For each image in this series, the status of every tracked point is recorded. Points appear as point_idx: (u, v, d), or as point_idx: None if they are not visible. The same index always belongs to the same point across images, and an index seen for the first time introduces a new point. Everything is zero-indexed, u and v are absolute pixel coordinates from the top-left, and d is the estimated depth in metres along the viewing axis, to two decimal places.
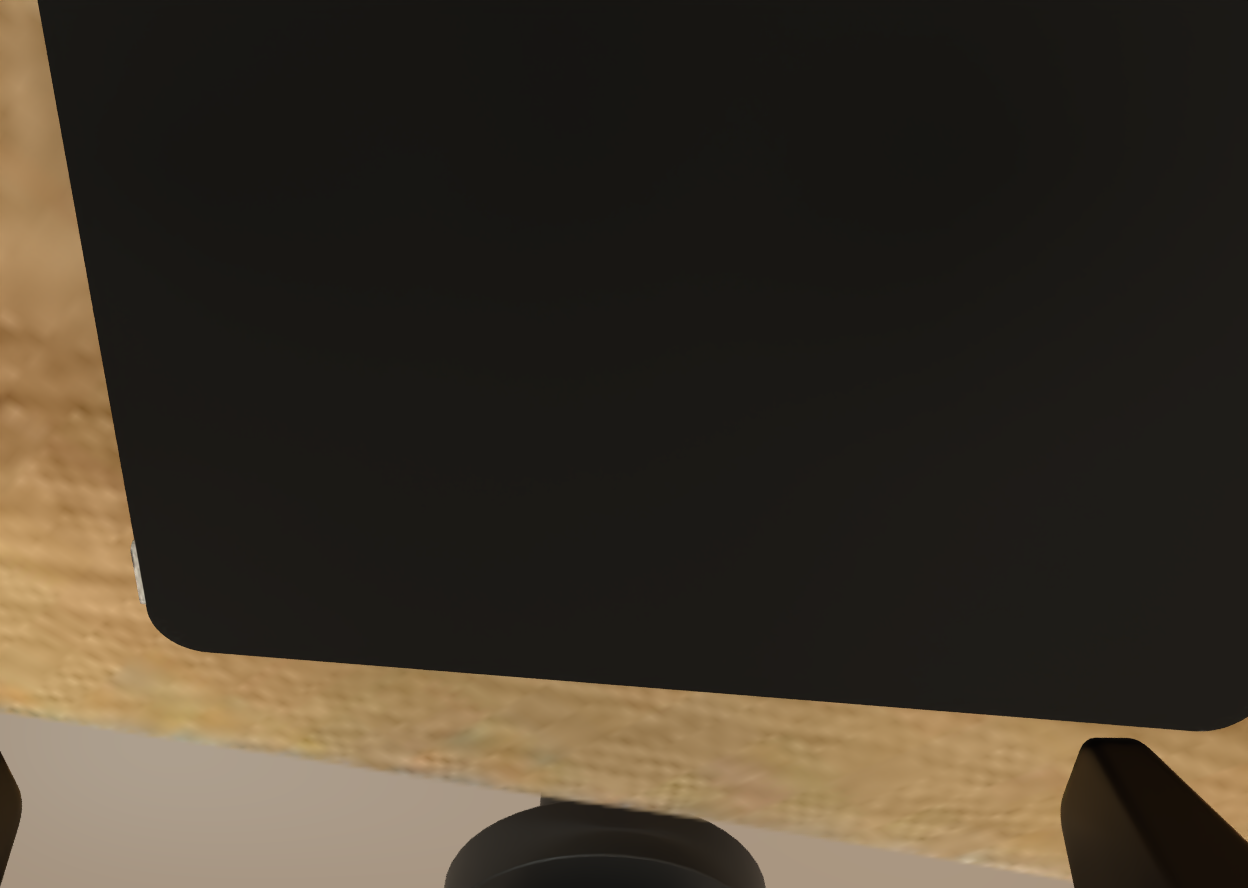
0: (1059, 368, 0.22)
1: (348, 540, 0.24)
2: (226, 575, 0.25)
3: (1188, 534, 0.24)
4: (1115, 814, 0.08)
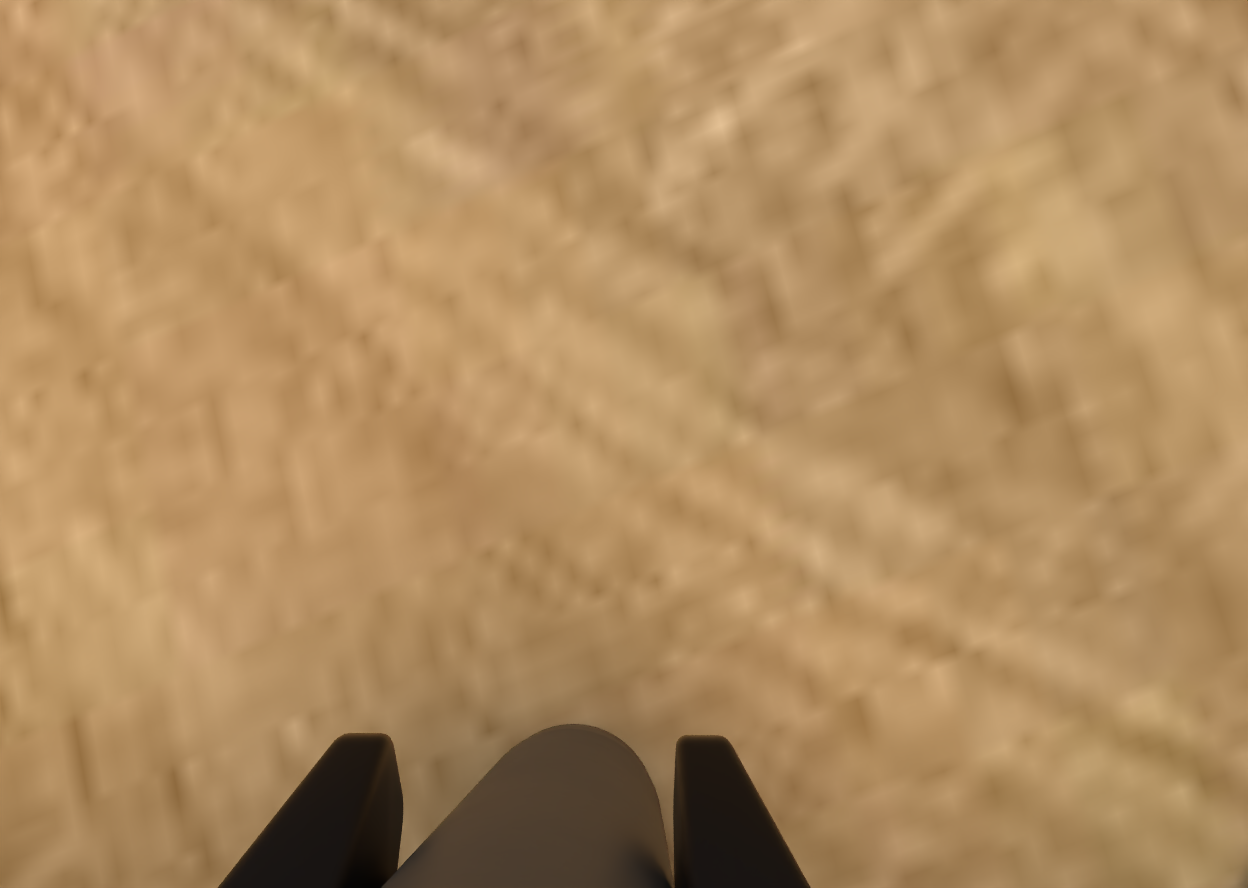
0: None
1: None
2: None
3: None
4: (679, 811, 0.08)
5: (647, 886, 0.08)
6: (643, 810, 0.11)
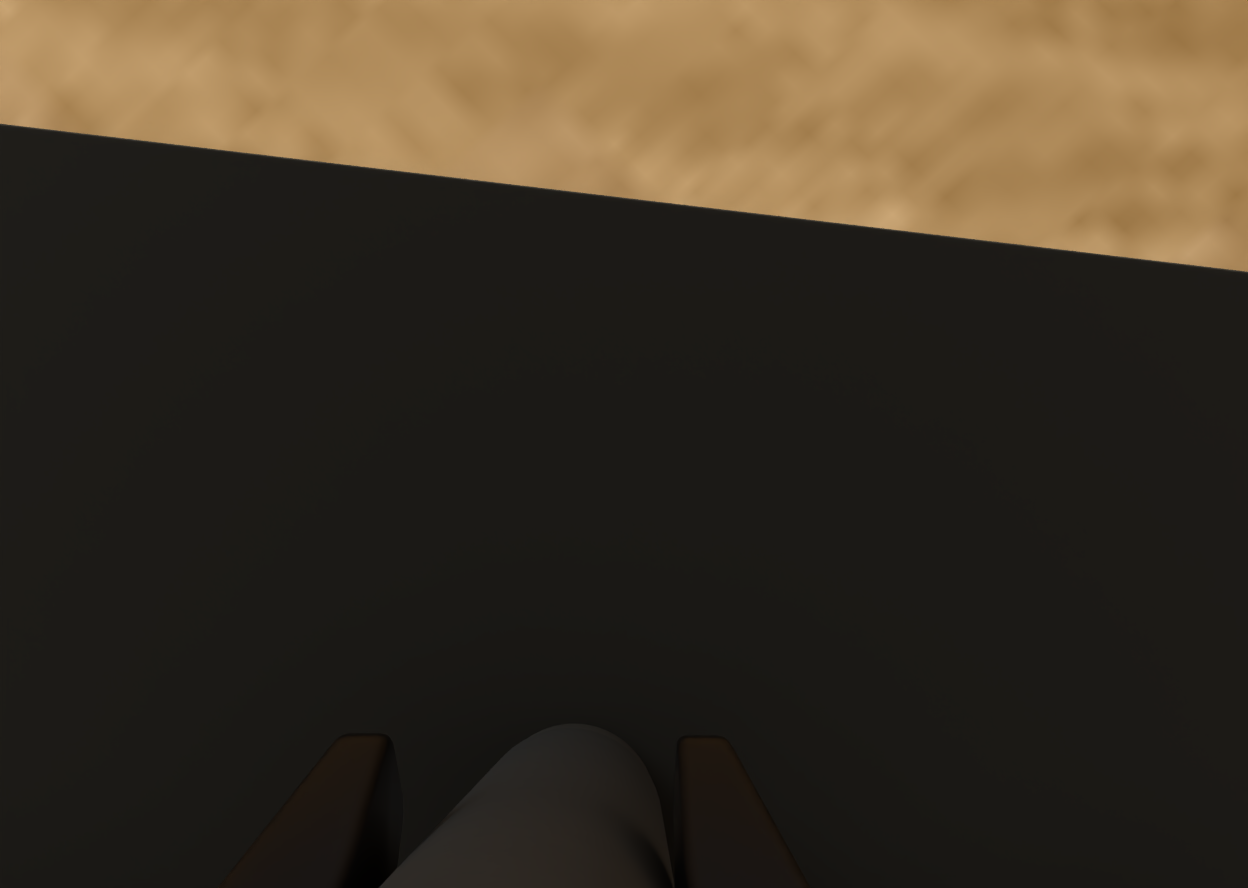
0: None
1: None
2: None
3: None
4: (678, 811, 0.08)
5: (646, 884, 0.08)
6: (643, 809, 0.11)
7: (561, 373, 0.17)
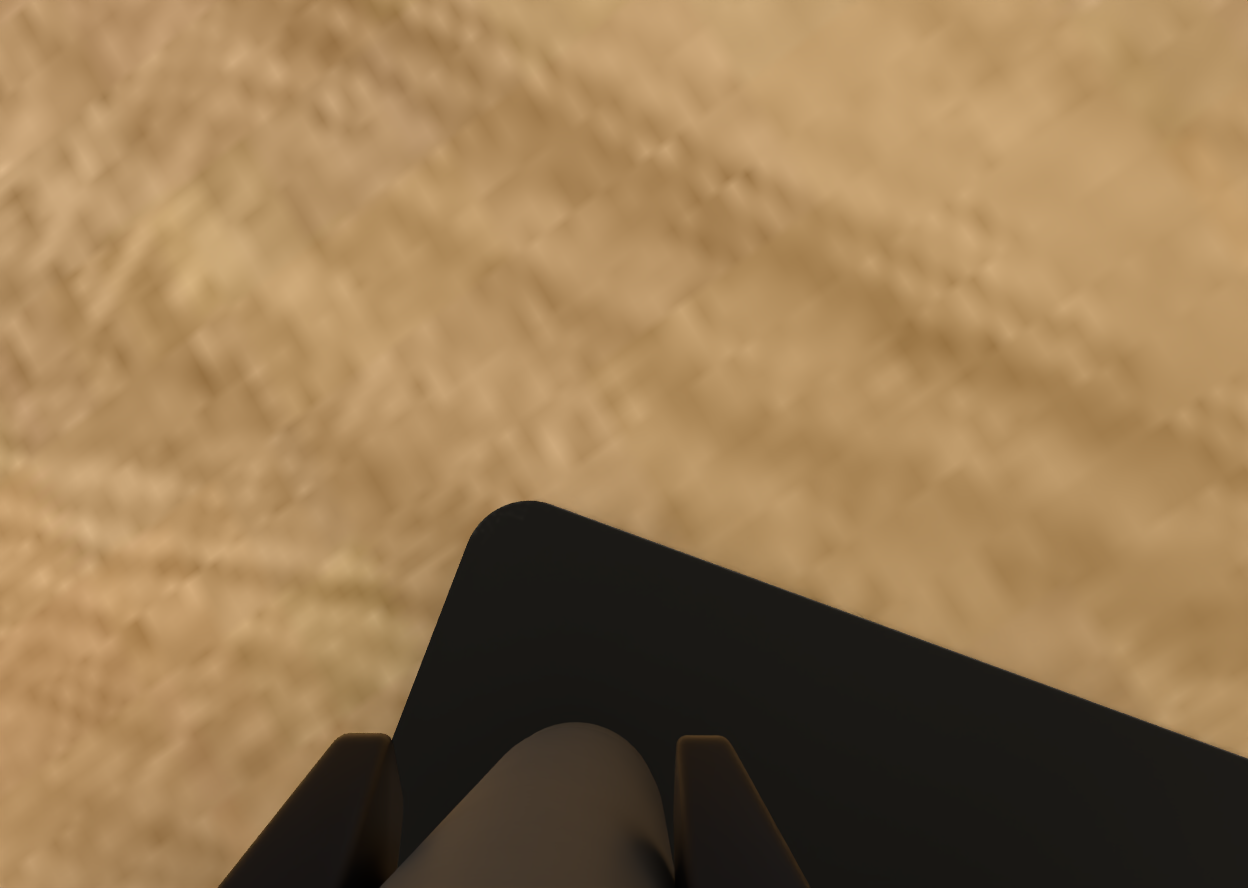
0: None
1: None
2: None
3: None
4: (679, 811, 0.08)
5: (650, 882, 0.08)
6: (646, 807, 0.11)
7: (1062, 858, 0.20)
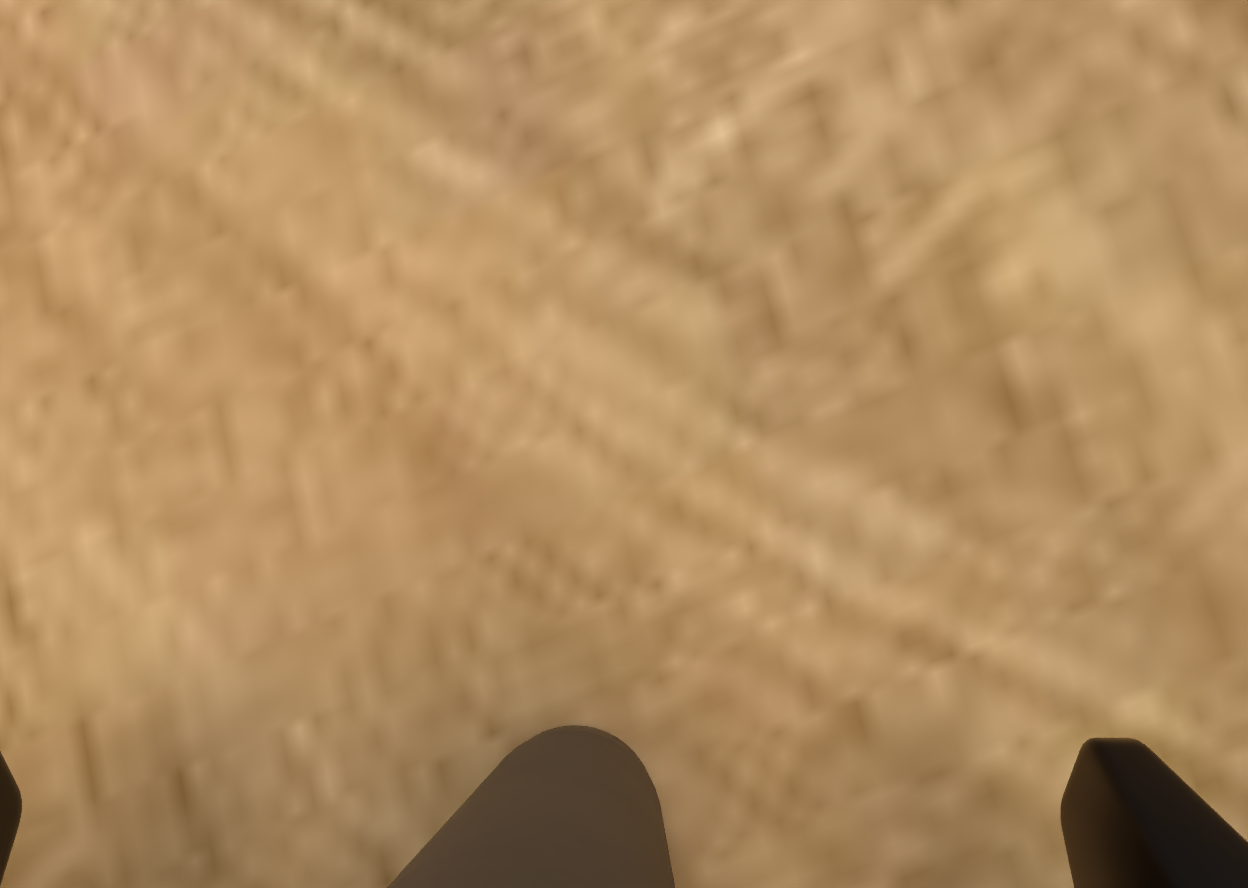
0: None
1: None
2: None
3: None
4: (1116, 814, 0.08)
5: (648, 883, 0.08)
6: (644, 810, 0.11)
7: None
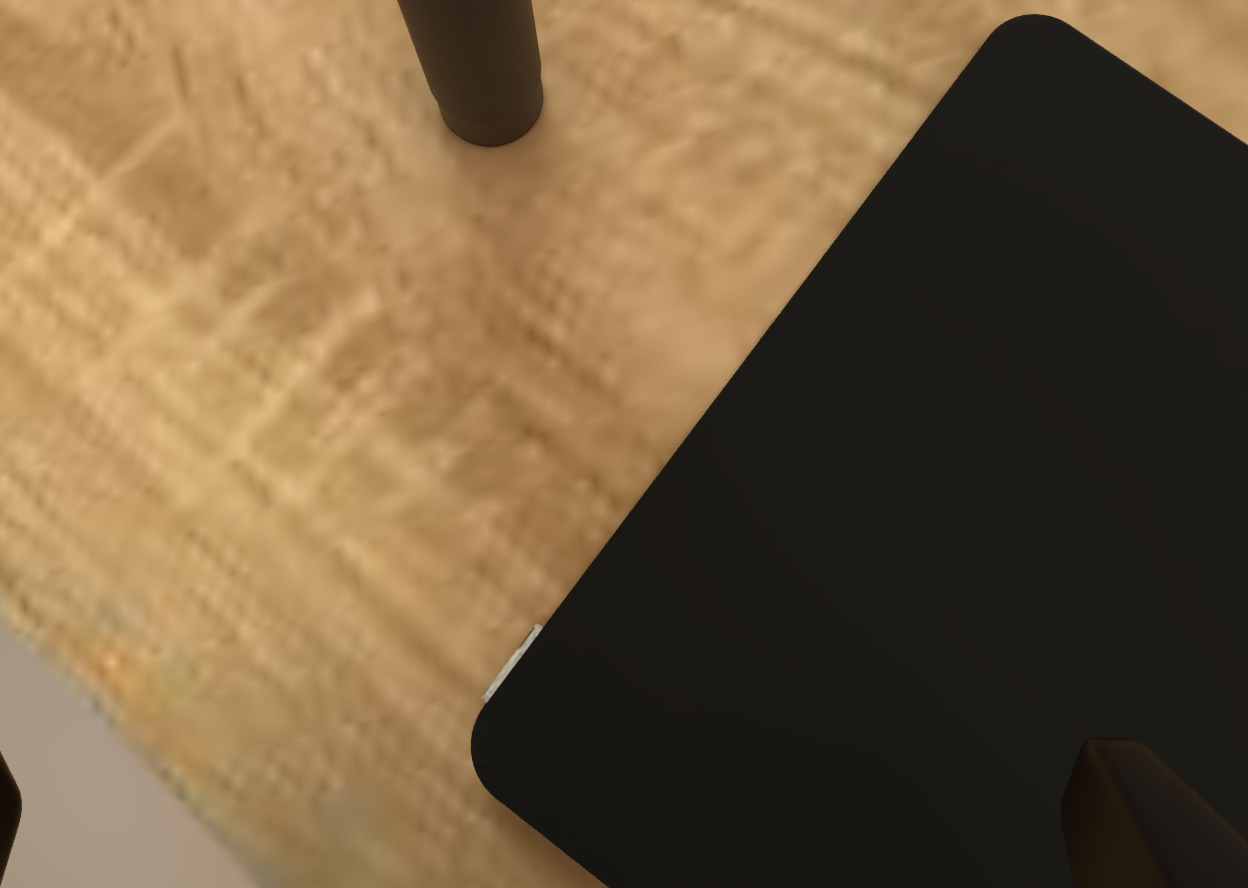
0: None
1: (756, 740, 0.22)
2: (601, 711, 0.22)
3: None
4: (1116, 813, 0.08)
5: None
6: None
7: None
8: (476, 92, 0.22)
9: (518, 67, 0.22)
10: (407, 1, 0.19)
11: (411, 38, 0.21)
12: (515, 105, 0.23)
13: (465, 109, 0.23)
